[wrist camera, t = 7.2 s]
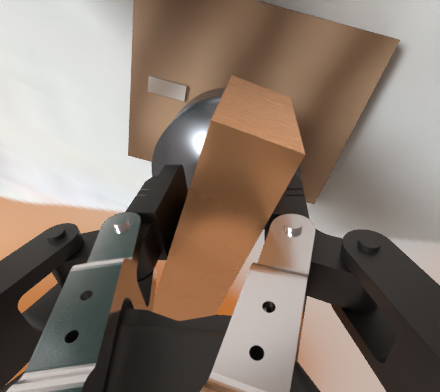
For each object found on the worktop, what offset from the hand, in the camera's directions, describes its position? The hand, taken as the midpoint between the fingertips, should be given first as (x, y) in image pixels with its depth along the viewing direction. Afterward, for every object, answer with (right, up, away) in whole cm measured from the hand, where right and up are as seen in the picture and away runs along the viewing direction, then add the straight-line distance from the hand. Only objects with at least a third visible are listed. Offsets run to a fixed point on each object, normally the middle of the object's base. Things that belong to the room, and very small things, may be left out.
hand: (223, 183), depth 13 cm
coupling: (0, +2, +3) cm, 4 cm away
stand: (+2, +7, +11) cm, 14 cm away
